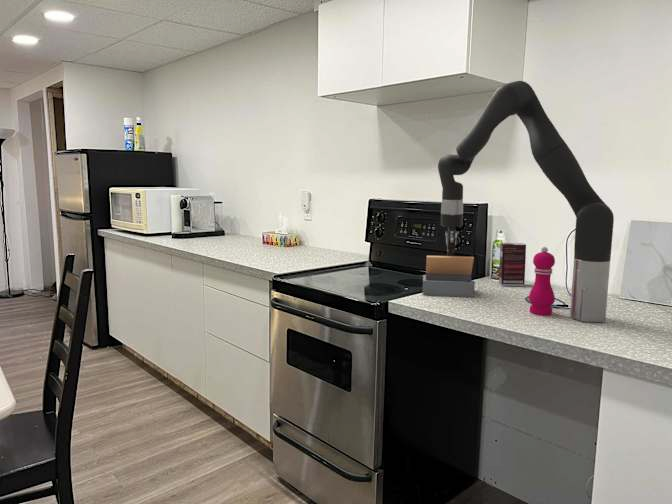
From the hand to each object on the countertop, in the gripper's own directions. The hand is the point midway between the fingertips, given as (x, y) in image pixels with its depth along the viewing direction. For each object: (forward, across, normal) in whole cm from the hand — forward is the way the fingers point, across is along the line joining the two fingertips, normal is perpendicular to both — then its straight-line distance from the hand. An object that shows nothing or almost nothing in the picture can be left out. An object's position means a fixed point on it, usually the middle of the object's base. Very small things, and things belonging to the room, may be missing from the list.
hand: (450, 261), depth 179 cm
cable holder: (+11, 0, +5) cm, 12 cm away
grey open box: (+11, +2, 0) cm, 11 cm away
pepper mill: (+11, +25, +26) cm, 37 cm away
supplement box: (+11, -15, +24) cm, 30 cm away
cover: (+2, 0, 0) cm, 2 cm away
